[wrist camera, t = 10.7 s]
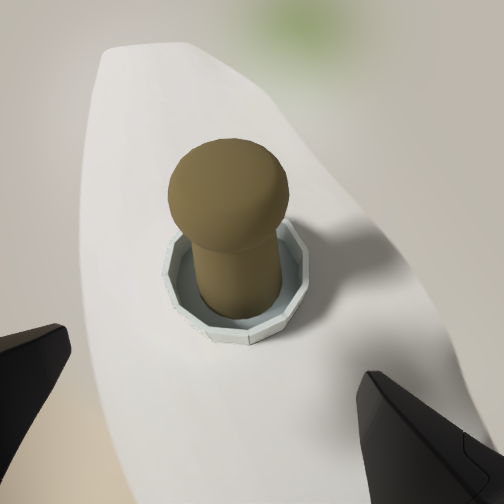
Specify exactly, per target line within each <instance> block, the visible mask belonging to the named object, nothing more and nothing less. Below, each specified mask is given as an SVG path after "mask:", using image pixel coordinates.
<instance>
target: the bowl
mask: <svg viewBox="0 0 504 504" xmlns="http://www.w3.org/2000/svg"><path fill="white" fill-rule="evenodd" d="M276 233H277V240H278V248H279V255H280V263H281V271H282V287H281V291H280V294H279V296H278V298H277V299H276V301H275V302H274V304H273V305H272V307H270V308H269V309H268V310H266V311H265V312H264V313H262V314H261V315H259V316H256V317H253V318H250V319H243V320H232V319H229V318H225V317H222V316H219V315H218V314H216V313H215V312H213V311H212V310H211V309H209V308H208V307H207V305H206V304H205V303H204V301H203V300H202V298H201V297H200V293H199V290H198V286H197V280H196V273H195V266H194V259H193V251H192V243H191V241H190V240H189V239H188V238H187V237H186V236H185V235H184V234H183V233H182V232H181V230H179V231H178V232H177V234H176V235H175V236H174V237H173V238H172V239H171V240H170V242H169V245H168V250H167V254H166V258H165V262H164V267H163V271H162V277H163V280H164V283H165V286H166V289H167V291H168V294H169V297H170V300H171V302H172V305H173V308H174V309H175V311H176V312H177V313H178V314H179V315H180V316H181V318H182V319H183V320H184V321H185V322H186V323H188V324H189V325H190V326H192V327H193V328H194V329H196V330H197V331H198V332H200V333H201V334H202V335H204V336H205V337H207V338H208V339H209V340H211V341H213V342H219V343H230V344H241V345H249V343H250V345H251V344H253V343H256V342H258V341H260V340H262V339H264V338H266V337H269V336H271V335H273V334H275V333H277V332H279V331H281V330H283V329H284V328H285V326H286V325H287V323H288V322H289V320H290V319H291V317H292V316H293V314H294V313H295V311H296V310H297V308H298V307H299V305H300V303H301V302H302V300H303V298H304V296H305V293H306V291H307V289H308V286H309V251H308V248H307V247H306V245H305V244H304V242H303V240H302V239H301V237H300V236H299V234H298V233H297V231H296V229H295V228H294V226H293V225H292V223H291V222H290V221H289V220H287V219H285V218H284V219H283V220H282V222H281V224H280V225H279V226H278V228H277V229H276Z"/></svg>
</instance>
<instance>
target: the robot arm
mask: <svg viewBox="0 0 504 504" xmlns="http://www.w3.org/2000/svg"><path fill="white" fill-rule="evenodd" d="M70 354H71V344H70V340H69V335H68V331H67V329H66V327H65V326H63V325H60V324H56V323H54V324H50V325H46V326H43V327H39V328H35V329H31V330H27V331H23V332H19V333H15V334H11V335H7V336H4V337H0V484H1V482H2V479H3V477H4V475H5V473H6V471H7V469H8V467H9V465H10V463H11V461H12V459H13V457H14V455H15V454H16V452H17V450H18V448H19V446H20V444H21V442H22V440H23V439H24V437H25V435H26V433H27V431H28V430H29V428H30V426H31V425H32V423H33V421H34V419H35V418H36V416H37V414H38V413H39V411H40V409H41V408H42V406H43V404H44V403H45V401H46V400H47V398H48V396H49V395H50V393H51V391H52V390H53V388H54V386H55V384H56V382H57V380H58V378H59V376H60V374H61V372H62V370H63V368H64V366H65V364H66V362H67V360H68V359H69V357H70ZM356 403H357V413H358V424H359V436H360V444H361V450H362V455H363V460H364V465H365V470H366V476H367V481H368V487H369V492H370V498H371V504H504V456H502V455H501V454H499V453H497V452H495V451H494V450H492V449H490V448H488V447H487V446H485V445H484V444H482V443H480V442H479V441H477V440H476V439H474V438H473V437H471V436H470V435H469V434H467V433H466V432H463V430H461V429H460V428H459V427H457V426H456V425H454V424H453V423H451V422H450V421H449V420H447V419H446V418H444V417H443V416H442V415H440V414H439V413H437V412H436V411H435V410H433V409H432V408H430V407H429V406H428V405H426V404H425V403H423V402H422V401H421V400H419V399H418V398H416V397H415V396H414V395H412V394H411V393H409V392H408V391H407V390H405V389H404V388H403V387H401V386H400V385H398V384H397V383H396V382H394V381H393V380H392V379H390V378H389V377H387V376H386V375H385V374H383V373H382V372H381V371H366V372H365V373H364V375H363V378H362V381H361V383H360V386H359V388H358V391H357V395H356Z"/></svg>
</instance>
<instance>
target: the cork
mask: <svg viewBox="0 0 504 504" xmlns="http://www.w3.org/2000/svg"><path fill="white" fill-rule="evenodd" d="M288 201H289V188H288V180H287V176H286V172H285V171H284V169H283V167H282V166H281V164H280V162H279V161H278V159H277V158H276V157H275V156H274V155H273V154H272V153H271V152H269V151H268V150H267V149H266V148H264V147H263V146H261V145H259V144H256V143H254V142H252V141H248V140H242V139H236V138H232V139H218V140H215V141H211V142H207V143H204V144H202V145H200V146H198V147H196V148H194V149H192V150H191V151H190V152H189V153H188V154H186V155H185V156H184V157H183V158H182V159H181V160H180V162H179V163H178V165H177V167H176V168H175V170H174V172H173V174H172V176H171V178H170V183H169V188H168V203H169V207H170V211H171V215H172V217H173V220H174V222H175V223H176V225H177V226H178V228H179V229H180V230H181V232H182V233H183V234H184V235H185V236H186V237H187V238H188V239H189V240H190V241H191V243H192V251H193V259H194V266H195V273H196V280H197V286H198V290H199V293H200V297H201V298H202V300H203V301H204V303H205V304H206V305H207V307H208V308H209V309H211V310H212V311H213V312H215V313H216V314H218V315H219V316H222V317H225V318H229V319H232V320H243V319H250V318H253V317H256V316H259V315H261V314H262V313H264V312H265V311H266V310H268V309H269V308H270V307H272V305H273V304H274V302H275V301H276V299H277V298H278V296H279V294H280V291H281V287H282V271H281V263H280V255H279V248H278V240H277V233H276V229H277V228H278V226H279V225H280V224H281V222H282V220H283V219H284V216H285V213H286V209H287V206H288Z"/></svg>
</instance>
